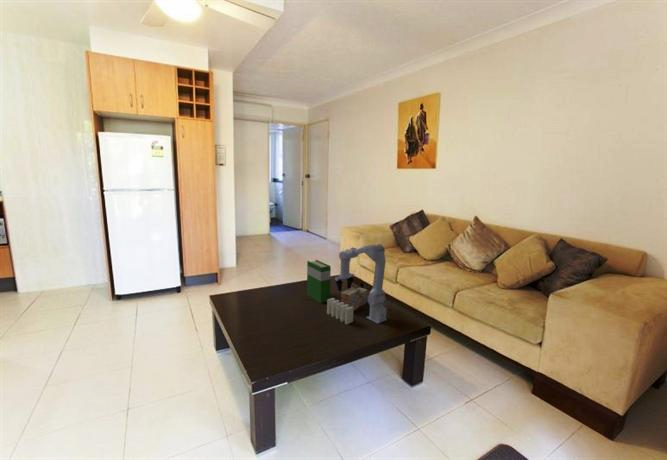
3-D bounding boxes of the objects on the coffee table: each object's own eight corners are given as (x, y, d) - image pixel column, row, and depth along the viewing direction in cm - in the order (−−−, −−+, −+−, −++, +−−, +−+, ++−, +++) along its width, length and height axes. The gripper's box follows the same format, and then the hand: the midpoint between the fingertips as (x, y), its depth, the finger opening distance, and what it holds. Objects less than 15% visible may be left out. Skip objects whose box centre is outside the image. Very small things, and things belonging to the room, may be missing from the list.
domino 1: (334, 312, 194) (335, 298, 192) (328, 314, 191) (329, 300, 189) (332, 311, 195) (333, 297, 193) (326, 313, 192) (327, 299, 190)
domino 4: (348, 319, 185) (348, 305, 183) (342, 321, 182) (342, 307, 180) (346, 318, 186) (346, 304, 184) (340, 320, 183) (340, 306, 181)
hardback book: (307, 294, 221) (307, 261, 217) (316, 292, 226) (316, 259, 221) (320, 303, 207) (321, 267, 203) (329, 300, 211) (330, 266, 207)
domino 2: (339, 314, 191) (339, 300, 189) (332, 316, 188) (333, 302, 186) (337, 313, 192) (337, 299, 190) (331, 315, 189) (331, 301, 187)
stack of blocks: (359, 300, 213) (359, 283, 211) (367, 302, 210) (367, 285, 207) (340, 310, 196) (341, 292, 194) (348, 313, 193) (349, 294, 190)
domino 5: (352, 321, 182) (353, 307, 180) (346, 324, 179) (347, 309, 177) (350, 320, 183) (351, 306, 181) (344, 323, 180) (345, 308, 178)
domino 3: (343, 317, 188) (343, 302, 186) (337, 319, 185) (337, 304, 183) (341, 316, 189) (342, 301, 187) (335, 318, 186) (336, 303, 184)
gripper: (349, 266, 210) (348, 285, 212) (332, 269, 201) (331, 289, 203) (356, 268, 204) (355, 288, 207) (339, 272, 195) (338, 293, 198)
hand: (344, 289), depth 204 cm, fingers open, 7 cm apart
